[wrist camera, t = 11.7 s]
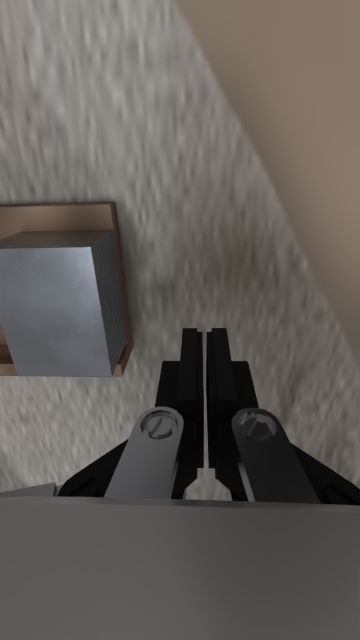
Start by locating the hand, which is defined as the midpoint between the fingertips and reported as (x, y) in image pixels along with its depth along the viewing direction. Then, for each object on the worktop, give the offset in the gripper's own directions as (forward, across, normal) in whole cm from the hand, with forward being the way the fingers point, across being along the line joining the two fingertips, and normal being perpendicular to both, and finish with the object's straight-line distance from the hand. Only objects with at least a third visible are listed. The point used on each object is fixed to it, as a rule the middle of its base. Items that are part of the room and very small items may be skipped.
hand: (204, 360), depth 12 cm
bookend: (+9, +9, +1) cm, 13 cm away
